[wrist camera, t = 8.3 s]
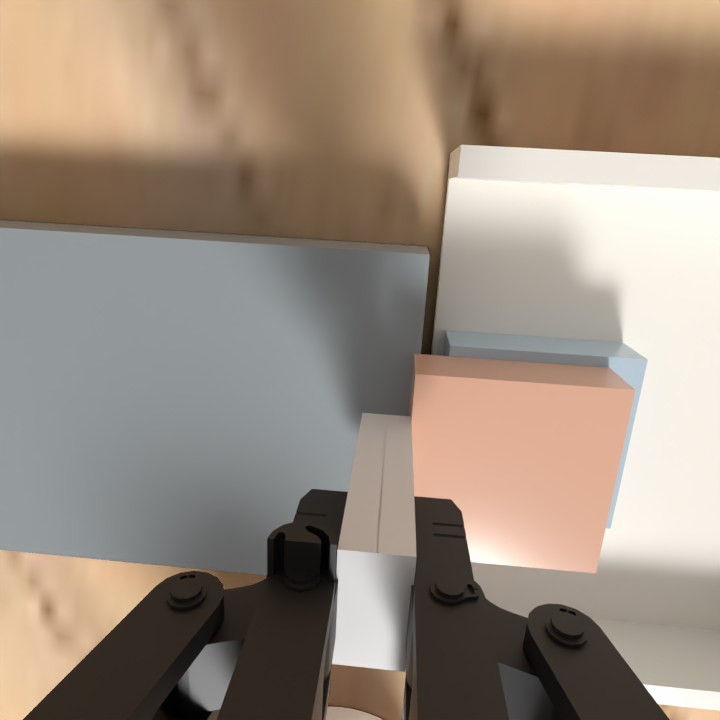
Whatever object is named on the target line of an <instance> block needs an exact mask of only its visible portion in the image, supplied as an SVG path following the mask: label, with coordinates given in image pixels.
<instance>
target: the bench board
mask: <svg viewBox="0 0 720 720" xmlns="http://www.w3.org/2000/svg"><path fill="white" fill-rule="evenodd" d="M429 259H430V253H429V251H428V249H427V246H416V245H399V244H383V243H367V242H351V241H334V240H318V239H302V238H285V237H269V236H253V235H237V234H220V233H204V232H188V231H172V230H155V229H139V228H123V227H106V226H90V225H74V224H58V223H41V222H25V221H9V220H0V550H8V551H18V552H28V553H39V554H49V555H59V556H70V557H80V558H91V559H101V560H111V561H122V562H132V563H142V564H153V565H163V566H173V567H184V568H194V569H204V570H215V571H225V572H235V573H246V574H256V575H267V538H268V537H269V535H270V534H271V533H272V531H273V530H275V529H277V528H278V527H280V526H282V525H284V524H288V523H292V522H293V520H294V517H295V514H296V511H297V508H298V505H299V502H300V499H301V498H302V497H303V496H305V495H306V494H307V493H308V492H309V491H310V490H311V489H320V490H331V491H343V492H348V489H349V484H350V478H351V473H352V467H353V462H354V456H355V451H356V445H357V440H358V434H359V429H360V423H361V418H362V413H372V414H385V415H398V416H409V408H410V396H411V385H412V373H413V361H414V354H421V347H422V336H423V325H424V314H425V303H426V292H427V281H428V270H429Z"/></svg>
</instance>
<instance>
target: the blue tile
mask: <svg viewBox="0 0 720 720" xmlns="http://www.w3.org/2000/svg"><path fill="white" fill-rule="evenodd" d="M443 356H454V357H468V358H483V359H497V360H511V361H525V362H540V363H554V364H568V365H583V366H597V367H609V368H610V369H612V370H613V371H614V372H615V373H616V374H617V375H619V376H620V377H621V378H622V379H623V380H624V381H626V382H627V383H628V384H629V385H630V386H631V387H633V388H634V389H635V394H634V399H633V403H632V408H631V413H630V417H629V422H628V427H627V431H626V436H625V440H624V445H623V450H622V454H621V459H620V464H619V468H618V473H617V478H616V482H615V487H614V491H613V496H612V501H611V505H610V510H609V515H608V519H607V524H606V528H608V529H610V528H611V524H612V519H613V515H614V510H615V506H616V501H617V497H618V492H619V488H620V483H621V479H622V474H623V470H624V465H625V461H626V456H627V452H628V447H629V443H630V438H631V434H632V429H633V425H634V420H635V416H636V411H637V407H638V402H639V398H640V393H641V389H642V384H643V380H644V375H645V370H646V366H647V361H648V359H646V358H645V357H643V356H642V355H640V354H639V353H637V352H636V351H635V350H633V349H632V348H630V347H629V346H627V345H626V344H625V343H623V342H611V341H597V340H582V339H568V338H553V337H539V336H525V335H510V334H496V333H481V332H467V331H452V330H446V331H445V340H444V350H443Z"/></svg>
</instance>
